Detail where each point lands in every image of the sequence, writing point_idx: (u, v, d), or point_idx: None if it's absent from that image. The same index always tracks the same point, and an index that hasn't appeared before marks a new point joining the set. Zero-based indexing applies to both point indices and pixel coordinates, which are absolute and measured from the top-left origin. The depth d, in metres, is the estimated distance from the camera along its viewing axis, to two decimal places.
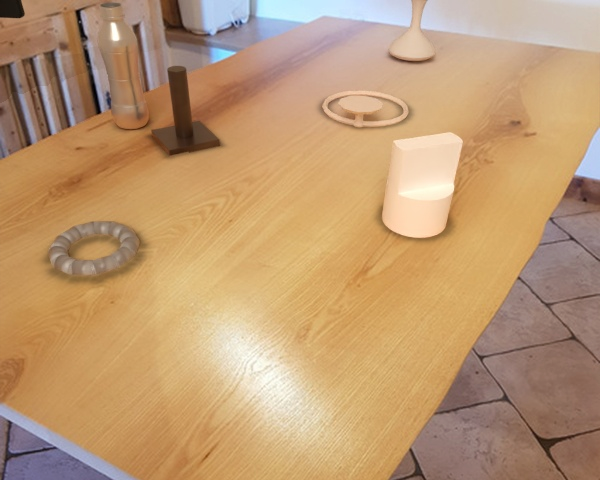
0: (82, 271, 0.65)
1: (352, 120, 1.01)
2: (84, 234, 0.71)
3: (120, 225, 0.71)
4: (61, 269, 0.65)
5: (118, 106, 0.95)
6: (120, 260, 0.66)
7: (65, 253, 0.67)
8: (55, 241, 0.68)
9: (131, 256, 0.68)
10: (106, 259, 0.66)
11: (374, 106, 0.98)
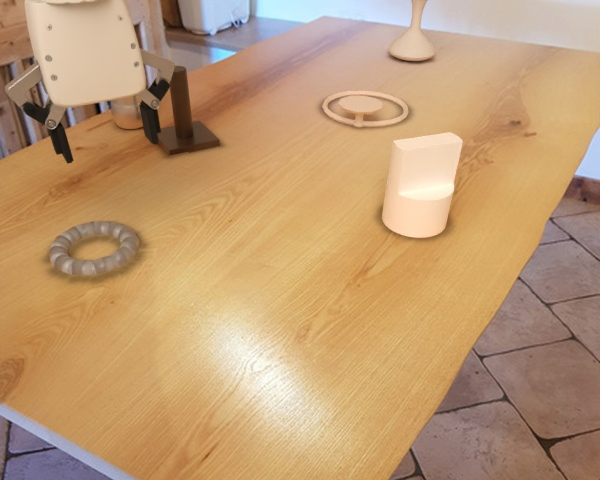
0: (82, 271, 0.65)
1: (352, 120, 1.01)
2: (84, 234, 0.71)
3: (120, 225, 0.71)
4: (61, 269, 0.65)
5: (118, 106, 0.95)
6: (120, 260, 0.66)
7: (65, 253, 0.67)
8: (55, 241, 0.68)
9: (131, 256, 0.68)
10: (106, 259, 0.66)
11: (374, 106, 0.98)
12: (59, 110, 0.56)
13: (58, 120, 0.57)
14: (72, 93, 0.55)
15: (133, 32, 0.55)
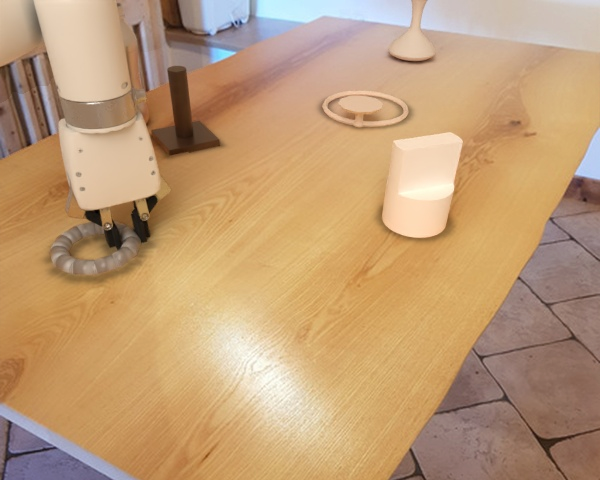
0: (83, 271, 0.65)
1: (352, 120, 1.01)
2: (85, 234, 0.71)
3: (121, 225, 0.71)
4: (62, 269, 0.65)
5: None
6: (121, 260, 0.66)
7: (66, 253, 0.67)
8: (56, 241, 0.68)
9: (132, 256, 0.68)
10: (107, 259, 0.66)
11: (374, 106, 0.98)
12: (106, 214, 0.66)
13: (113, 223, 0.67)
14: (97, 200, 0.63)
15: (151, 147, 0.63)
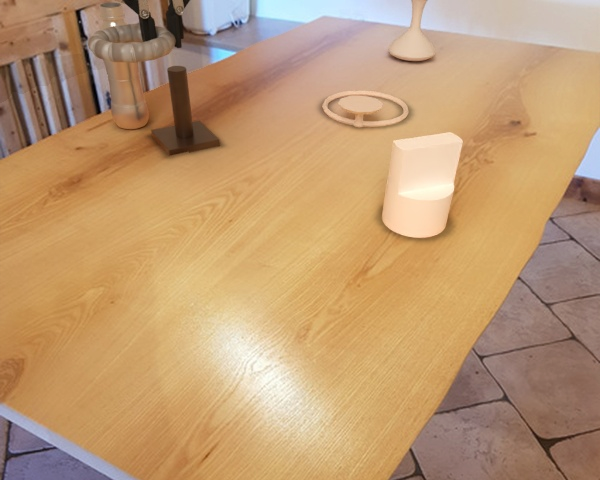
0: (121, 51, 0.67)
1: (352, 120, 1.01)
2: (121, 34, 0.73)
3: (156, 26, 0.73)
4: (101, 51, 0.68)
5: (118, 106, 0.95)
6: (157, 45, 0.69)
7: (104, 40, 0.69)
8: (94, 33, 0.71)
9: (168, 45, 0.70)
10: (144, 42, 0.68)
11: (374, 106, 0.98)
12: None
13: None
14: None
15: None
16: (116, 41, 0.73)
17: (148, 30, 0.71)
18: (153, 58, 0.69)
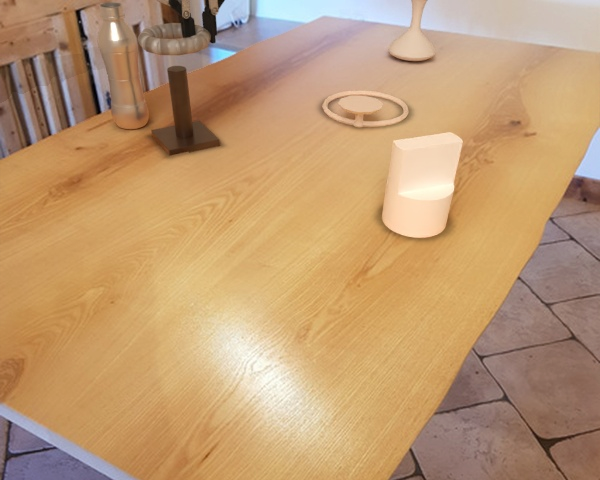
0: (168, 46, 0.80)
1: (352, 120, 1.01)
2: (164, 31, 0.86)
3: None
4: (151, 46, 0.81)
5: (118, 106, 0.95)
6: (198, 41, 0.82)
7: (152, 37, 0.82)
8: (143, 31, 0.84)
9: (205, 41, 0.83)
10: (187, 38, 0.81)
11: (374, 106, 0.98)
12: (186, 2, 0.81)
13: None
14: None
15: None
16: (160, 37, 0.86)
17: (188, 28, 0.84)
18: (194, 51, 0.82)
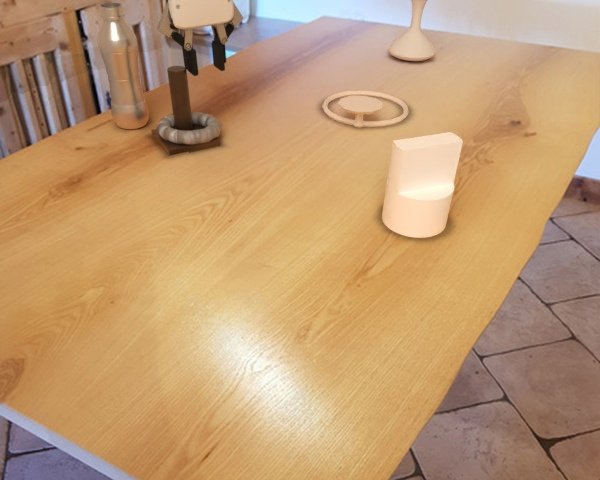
0: (184, 137, 0.90)
1: (352, 120, 1.01)
2: None
3: (206, 114, 0.96)
4: (168, 136, 0.90)
5: (118, 106, 0.95)
6: (210, 132, 0.91)
7: (170, 127, 0.92)
8: (161, 120, 0.93)
9: (217, 131, 0.93)
10: (201, 130, 0.91)
11: (374, 106, 0.98)
12: (189, 35, 0.84)
13: None
14: (188, 18, 0.82)
15: None
16: None
17: (190, 59, 0.87)
18: (207, 141, 0.92)
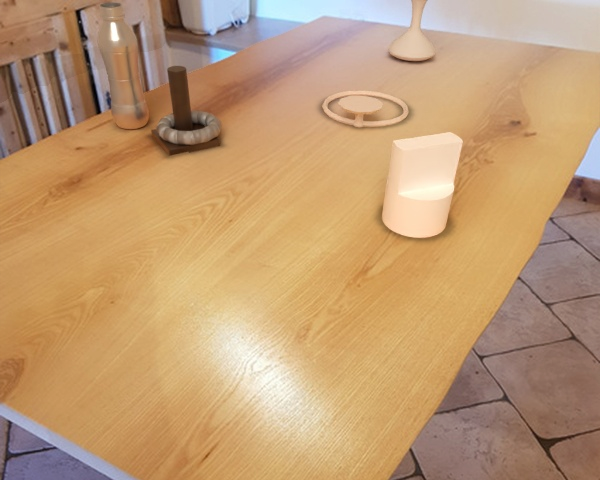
0: (184, 137, 0.90)
1: (352, 120, 1.01)
2: None
3: None
4: (168, 137, 0.90)
5: (118, 106, 0.95)
6: (210, 132, 0.91)
7: (170, 127, 0.92)
8: (161, 120, 0.93)
9: (217, 131, 0.93)
10: (201, 130, 0.91)
11: (374, 106, 0.98)
12: None
13: None
14: None
15: None
16: None
17: None
18: (206, 141, 0.92)
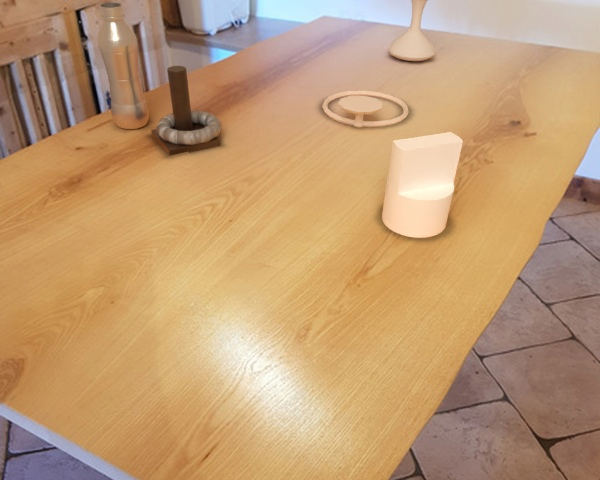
0: (184, 137, 0.90)
1: (352, 120, 1.01)
2: None
3: None
4: (168, 137, 0.90)
5: (118, 106, 0.95)
6: (210, 132, 0.91)
7: (170, 127, 0.92)
8: (161, 120, 0.93)
9: (217, 131, 0.93)
10: (201, 130, 0.91)
11: (374, 106, 0.98)
12: None
13: None
14: None
15: None
16: None
17: None
18: (206, 141, 0.92)
